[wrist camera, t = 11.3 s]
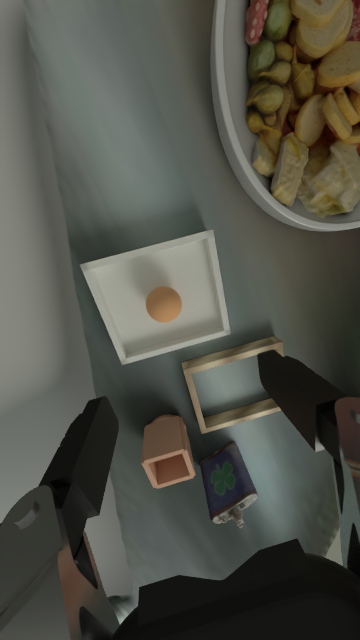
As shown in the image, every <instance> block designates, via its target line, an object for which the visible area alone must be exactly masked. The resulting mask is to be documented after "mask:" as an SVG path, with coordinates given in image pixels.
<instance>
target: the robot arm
mask: <svg viewBox="0 0 360 640" xmlns="http://www.w3.org/2000/svg"><path fill="white" fill-rule="evenodd" d="M257 357H258V366H259V375H260V380H261V383H262V385H263V387H264V389H265V390H266V392H267V393H268V394H269V395H270V396H271V398H272V399H273V400H274V401H275V403H276V404H277V405H278V406H279V408H280V409H281V410H282V411H283V413H284V414H285V415H286V416H287V418H288V419H289V420H290V421H291V422H292V424H293V425H294V426H295V427H296V429H297V430H298V431H299V432H300V434H301V435H302V436H303V437H304V439H305V440H306V441H307V442H308V444H309V445H310V446H311V447H312V449H313V450H314V451H315V452H317V451H320V450H324V449H326V450H327V451H328V452H329V453H330V454H331V456H332V467H333V475H334V482H335V490H336V497H337V505H338V512H339V521H340V538H341V552H342V561H343V566H341V565H339V564H338V563H336V562H334V561H331V560H329V559H327V558H324V557H321V556H318V555H314V554H310V553H304V551H303V549H302V547H301V545H300V543H299V541H298V539H294V540H291V541H287V542H284V543H281V544H278V545H275V546H271V547H268V548H265V549H262V550H259V551H258V552H257V553H255V554H254V555H253V556H252V557H251V558H249V559H248V560H247V561H246V562H245V563H244V564H242V565H241V566H240V567H239V568H238V569H237V570H235V571H234V572H233V573H232V574H231V575H229V576H228V577H227V578H226V579H224V580H211V579H204V578H196V577H189V576H182V575H177V576H174V577H171V578H168V579H164V580H161V581H158V582H155V583H151V584H148V585H145V586H142V587H139V600H138V607H136V608H135V609H134V610H133V611H132V612H131V613H130V614H129V615H128V616H127V617H126V618H125V619H124V621H123V622H122V623H121V625H120V624H119V621H118V619H117V617H116V614H115V612H114V610H113V608H112V606H111V604H110V602H109V600H108V598H107V596H106V594H105V591H104V588H103V586H102V582H101V580H100V576H99V573H98V570H97V566H96V563H95V560H94V557H93V554H92V551H91V548H90V545H89V541H88V538H87V535H86V533H85V531H84V528H85V524H86V520H87V518H91V517H94V516H98V515H99V513H100V509H101V505H102V500H103V496H104V492H105V487H106V483H107V478H108V474H109V470H110V465H111V461H112V457H113V452H114V448H115V444H116V439H117V435H118V430H119V425H118V419H117V417H116V415H115V413H114V411H113V409H112V406H111V404H110V402H109V400H108V398H107V397H106V396H103V397H100V398H96V399H93V400H90V401H88V403H87V405H86V407H85V409H84V411H83V413H82V414H79V416H78V417H77V418H76V419H75V420H74V421H73V423H71V425H70V427H69V429H68V430H67V433H66V434H65V437H64V438H63V440H62V442H61V444H60V447H59V448H58V449H57V451H56V453H55V455H54V457H53V459H52V461H51V463H50V465H49V467H48V469H47V471H46V473H45V474H44V476H43V478H42V480H41V482H40V484H39V486H38V487H36V488H34V489H33V490H31V491H29V492H28V493H27V494H25V495H24V496H23V497H22V498H21V499H20V500H19V501H18V502H17V503H16V504H15V505H14V506H13V507H12V508H11V510H10V511H9V512H8V514H7V515H6V517H5V518H4V520H3V522H2V523H1V524H0V640H360V398H356V397H348V396H347V395H345V394H344V393H342V392H341V391H340V390H338V389H337V388H336V387H334V386H333V385H332V384H330V383H329V382H327V381H326V380H325V379H323V378H322V377H321V376H319V375H318V374H315V372H314V371H312V370H311V369H310V368H308V367H307V366H306V365H304V364H303V363H302V362H300V361H299V360H296V359H294V358H291V357H289V356H285V357H283V356H282V355H280V354H279V353H278V352H276V351H275V350H273V349H272V350H268V351H265V352H261V353H258V355H257Z"/></svg>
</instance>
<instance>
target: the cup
mask: <svg viewBox="0 0 360 640" xmlns="http://www.w3.org/2000/svg"><path fill="white" fill-rule="evenodd" d="M142 465H143V467H144V469H145V471H146V473H147V475H148V477H149V480H150V482H151V484H152V486H153V488H157V489H158V488H162V487H165V486H168V485H171V484H175V483H178V482H181V481H184V480H188V479H191V478H194V476H195V469H194V464H193V458H192V452H191V447H190V441H189V438H188V434H187V431H186V425H185V422H184V420H183V419H182V417H179V416H176V415H172V414H166V415H162V416H159V417H157V418H155V419H154V420H153V421H152V422H151V423H150V424H148V425H146V427H144V438H143V452H142Z"/></svg>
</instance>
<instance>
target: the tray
mask: <svg viewBox="0 0 360 640" xmlns="http://www.w3.org/2000/svg"><path fill="white" fill-rule="evenodd" d="M80 267H81V269H82V271H83V274H84V276H85V278H86V281H87V283H88V286H89V288H90V290H91V293H92V295H93V297H94V300H95V302H96V304H97V307H98V309H99V311H100V314H101V316H102V318H103V321H104V323H105V325H106V328H107V330H108V332H109V335H110V337H111V340H112V342H113V344H114V347H115V349H116V351H117V354H118V356H119V358H120V361H121V363H122V365H124V364H127V363H131V362H134V361H138V360H142V359H145V358H149V357H152V356H156V355H159V354H163V353H166V352H170V351H173V350H177V349H180V348H184V347H187V346H191V345H194V344H198V343H201V342H205V341H208V340H212V339H215V338H219V337H222V336H226V335H229V334H231V333H230V327H229V321H228V315H227V309H226V304H225V298H224V292H223V286H222V280H221V274H220V268H219V262H218V256H217V250H216V244H215V239H214V233H213V229H212V230H208V231H204V232H200V233H197V234H193V235H189V236H185V237H182V238H178V239H174V240H170V241H166V242H163V243H159V244H155V245H151V246H148V247H144V248H140V249H136V250H133V251H129V252H125V253H121V254H118V255H114V256H110V257H106V258H103V259H99V260H95V261H91V262H88V263H84V264H80ZM163 286H165V287H170V288H172V289H174V290H175V291H176V292H177V293H178V294H179V296H180V298H181V301H182V308H181V312H180V314H179V315H178V316H177V318H175V319H174V320H172V321H170V322H165V323H163V322H158V321H156V320H154V319H153V318H151V317H150V315H149V314H148V312H147V309H146V299H147V297H148V295H149V293H150V292H151V291H152V290H154V289H155V288H158V287H163Z"/></svg>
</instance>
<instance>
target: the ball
mask: <svg viewBox="0 0 360 640" xmlns="http://www.w3.org/2000/svg"><path fill="white" fill-rule="evenodd" d="M181 308H182V301H181V298H180V296H179V294H178V293H177V292H176V291H175V290H174V289H172V288H170V287H165V286H163V287H158V288H155V289H154V290H152V291H151V292H150V293H149V295H148V297H147V299H146V309H147V312H148V314H149V315H150V317H151V318H153V319H154V320H156V321H158V322H163V323H165V322H170V321H172V320H174V319H175V318H177V316H178V315H179V314H180V312H181Z"/></svg>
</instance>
